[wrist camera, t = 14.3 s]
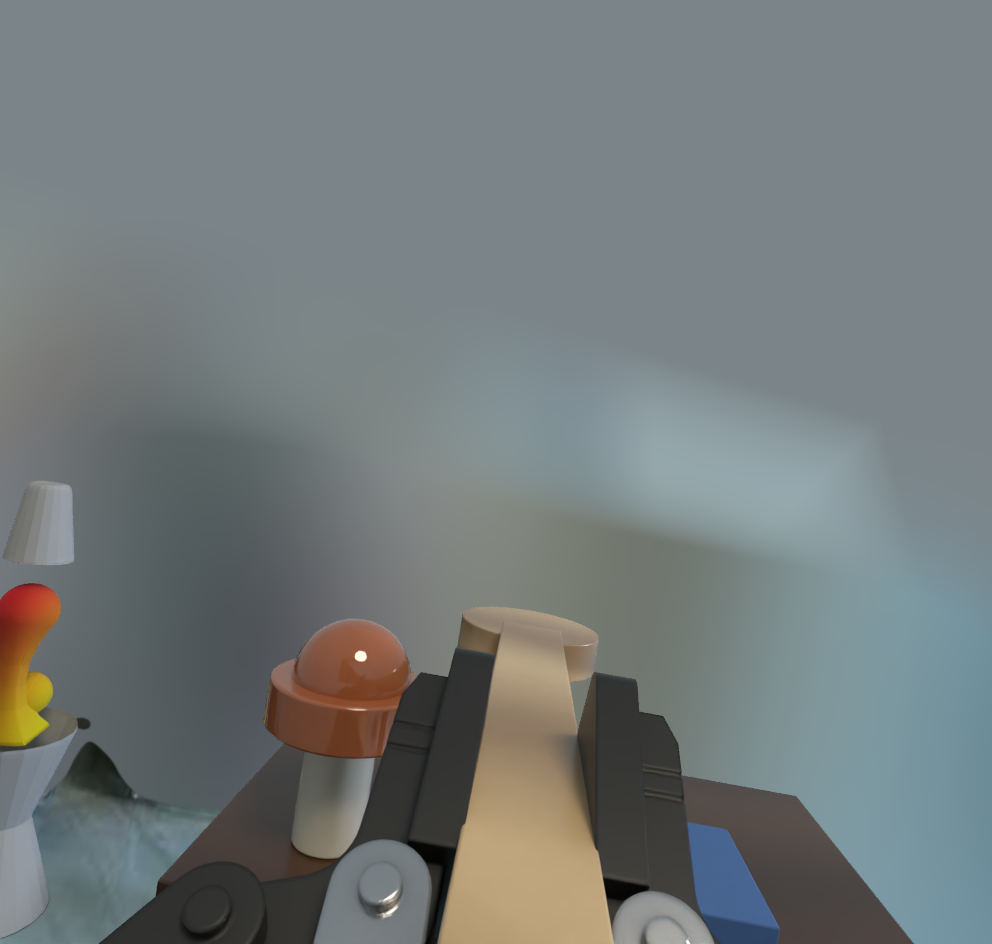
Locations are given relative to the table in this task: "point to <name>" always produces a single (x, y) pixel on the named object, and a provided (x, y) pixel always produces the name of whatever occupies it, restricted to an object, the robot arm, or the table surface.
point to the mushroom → (337, 725)
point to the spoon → (528, 793)
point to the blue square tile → (728, 890)
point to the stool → (741, 810)
